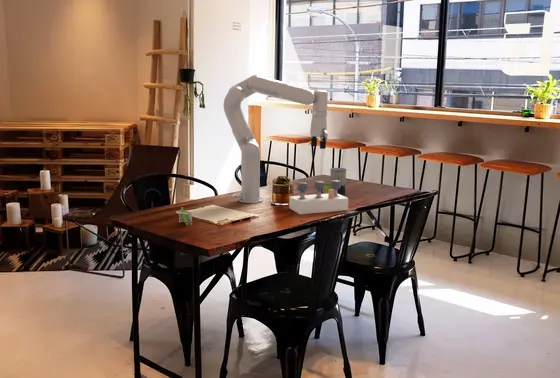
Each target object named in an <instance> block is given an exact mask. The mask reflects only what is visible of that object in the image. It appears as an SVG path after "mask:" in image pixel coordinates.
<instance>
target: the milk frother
mask: <svg viewBox="0 0 560 378" xmlns="http://www.w3.org/2000/svg"><path fill="white" fill-rule="evenodd" d="M329 170H330V177H329V179H330V180H329V181H330V182H331V180H340V181H341V184H340V189H338V191H337V193H338V194H340V195H342V196H344V197H347V195H346V191H347V190H346V186H347V185H346V183H347V170H348V169H347V168H344V167H331V168H329ZM330 182H329V183H330ZM321 194H324V193H323V190H321Z"/></svg>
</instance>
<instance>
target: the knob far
mask: <svg viewBox="0 0 560 378" xmlns="http://www.w3.org/2000/svg"><path fill="white" fill-rule="evenodd" d="M329 183H330V188H332V189H334V197H337V189H340V184H341V181H340V180H331V182H329Z"/></svg>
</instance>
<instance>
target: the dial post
mask: <svg viewBox="0 0 560 378" xmlns="http://www.w3.org/2000/svg"><path fill="white" fill-rule="evenodd" d="M328 199H334V189H329V192H328Z"/></svg>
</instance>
